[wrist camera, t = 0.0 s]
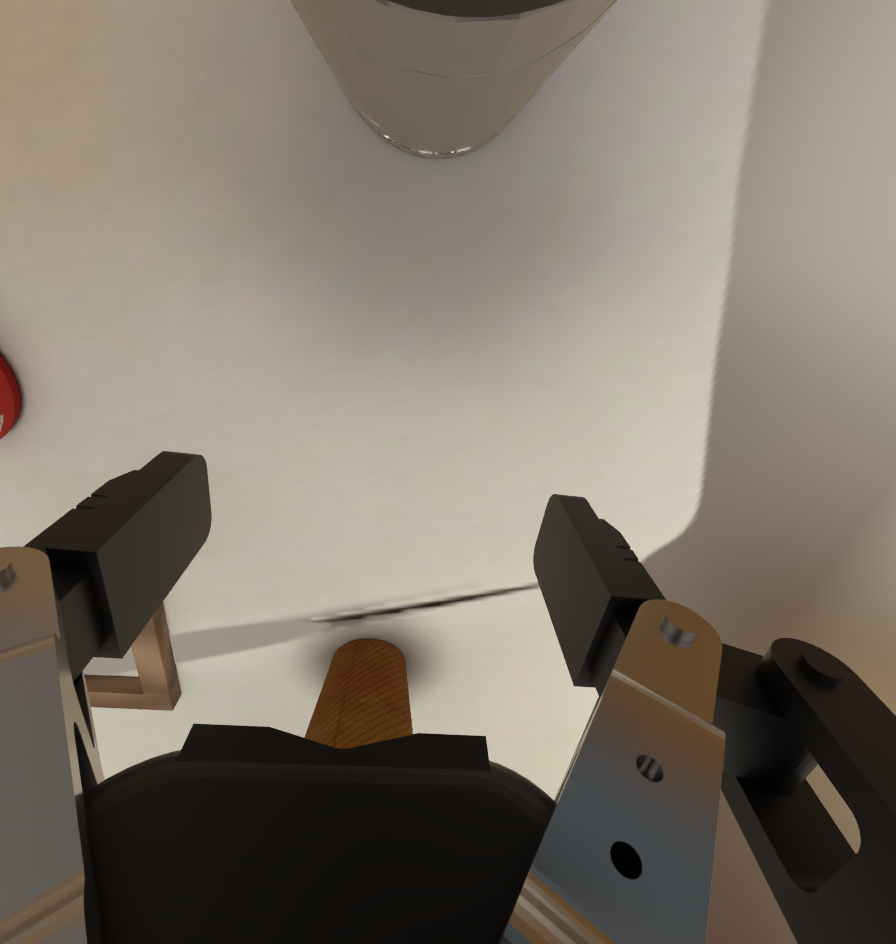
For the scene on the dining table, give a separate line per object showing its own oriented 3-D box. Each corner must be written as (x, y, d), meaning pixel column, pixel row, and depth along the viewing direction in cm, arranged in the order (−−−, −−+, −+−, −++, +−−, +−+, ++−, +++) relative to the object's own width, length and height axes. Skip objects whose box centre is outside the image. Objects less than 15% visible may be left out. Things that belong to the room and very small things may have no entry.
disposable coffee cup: (412, 703, 42) (408, 864, 31) (307, 692, 40) (267, 857, 30) (435, 632, 37) (440, 792, 27) (318, 617, 36) (276, 780, 26)
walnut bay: (-163, 482, 28) (-192, 495, 27) (143, 511, 30) (131, 524, 29) (-48, 683, 38) (-65, 699, 36) (181, 694, 40) (172, 710, 38)
